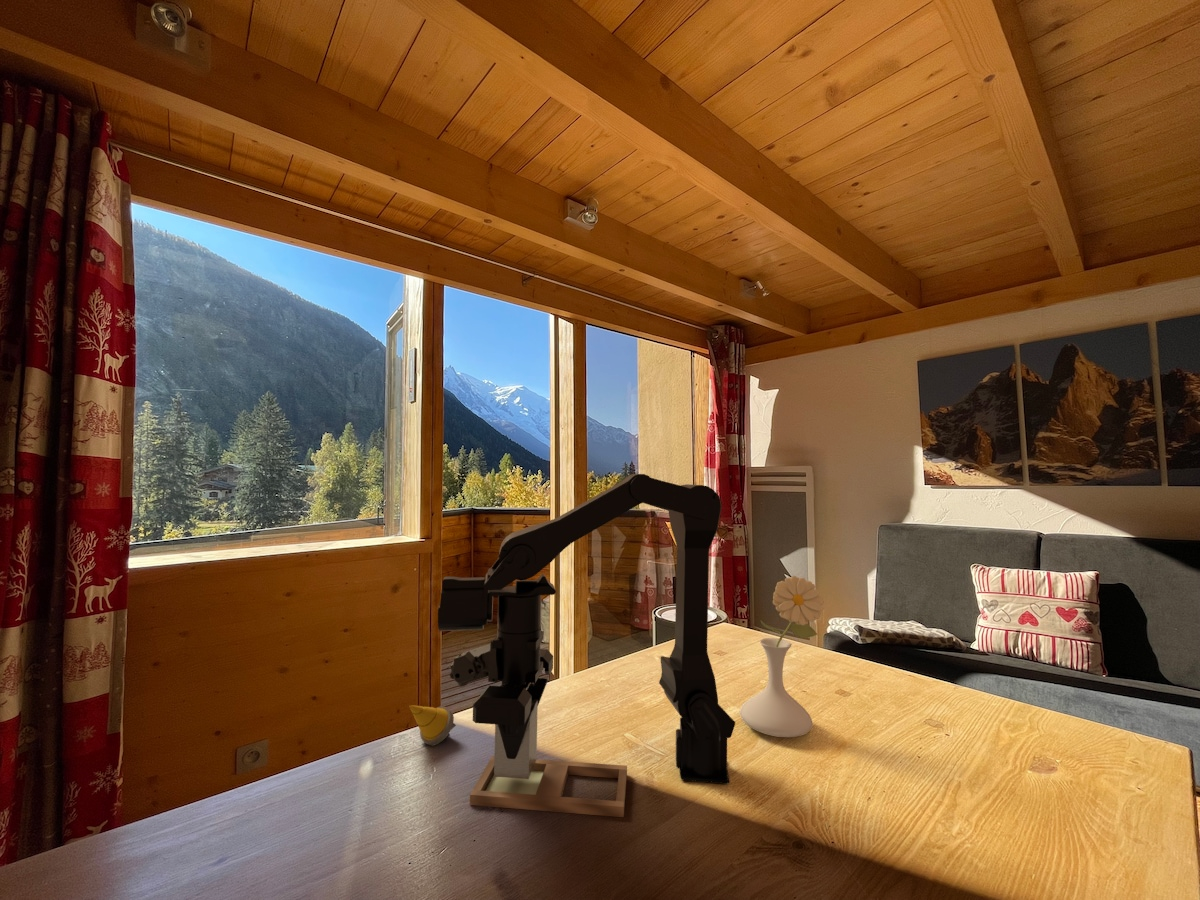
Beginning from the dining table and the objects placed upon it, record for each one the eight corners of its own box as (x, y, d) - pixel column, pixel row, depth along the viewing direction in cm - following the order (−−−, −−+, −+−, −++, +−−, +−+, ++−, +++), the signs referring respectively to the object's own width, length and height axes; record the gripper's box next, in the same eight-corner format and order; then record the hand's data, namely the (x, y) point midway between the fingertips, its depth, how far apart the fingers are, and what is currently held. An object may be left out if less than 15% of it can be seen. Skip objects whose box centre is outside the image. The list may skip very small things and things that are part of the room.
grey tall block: (536, 759, 70) (537, 694, 71) (528, 779, 66) (530, 709, 66) (503, 757, 71) (505, 693, 71) (494, 776, 66) (495, 707, 67)
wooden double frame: (626, 774, 71) (627, 765, 71) (623, 817, 62) (623, 806, 62) (491, 764, 73) (491, 756, 73) (469, 804, 64) (469, 794, 64)
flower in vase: (735, 736, 83) (735, 577, 84) (743, 707, 93) (744, 566, 94) (824, 754, 78) (824, 584, 79) (823, 721, 88) (822, 572, 90)
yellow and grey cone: (462, 746, 79) (421, 717, 74) (432, 757, 80) (390, 729, 74) (465, 712, 83) (428, 682, 78) (437, 723, 84) (398, 694, 79)
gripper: (482, 608, 79) (479, 713, 79) (431, 647, 61) (427, 785, 60) (554, 611, 78) (552, 717, 77) (525, 652, 60) (521, 792, 59)
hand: (516, 748), depth 69 cm, fingers closed on grey tall block, 4 cm apart
